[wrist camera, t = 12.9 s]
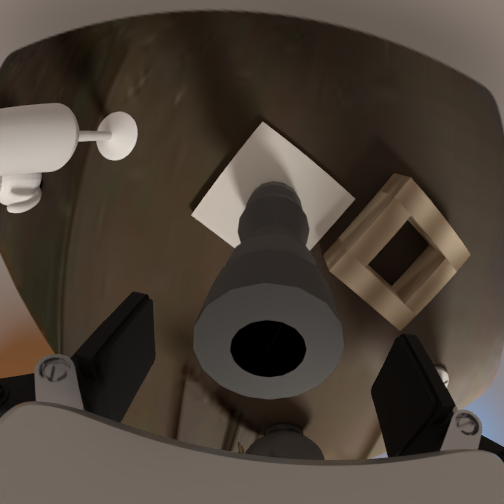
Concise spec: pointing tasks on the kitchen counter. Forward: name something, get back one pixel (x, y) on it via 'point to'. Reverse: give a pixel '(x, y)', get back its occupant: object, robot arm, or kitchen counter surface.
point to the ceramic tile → (266, 170)
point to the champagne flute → (56, 137)
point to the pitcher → (284, 444)
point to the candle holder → (270, 306)
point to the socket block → (379, 234)
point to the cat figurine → (20, 191)
